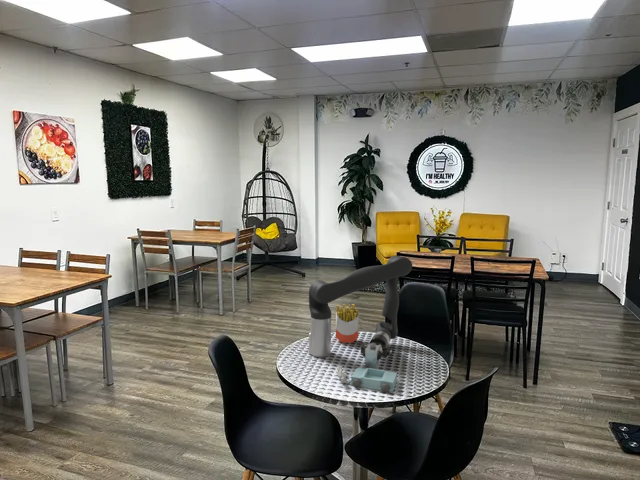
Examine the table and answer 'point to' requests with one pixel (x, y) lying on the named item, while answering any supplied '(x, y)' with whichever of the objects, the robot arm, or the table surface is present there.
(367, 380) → the chassis
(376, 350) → the knobbed metal block
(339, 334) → the french fries container
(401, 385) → the table surface
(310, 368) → the table surface
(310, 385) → the table surface
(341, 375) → the soldier figure
